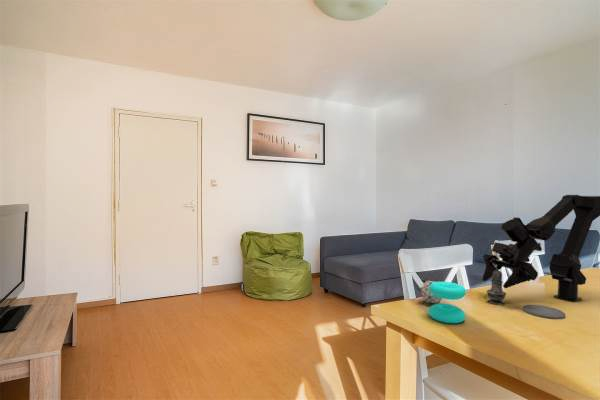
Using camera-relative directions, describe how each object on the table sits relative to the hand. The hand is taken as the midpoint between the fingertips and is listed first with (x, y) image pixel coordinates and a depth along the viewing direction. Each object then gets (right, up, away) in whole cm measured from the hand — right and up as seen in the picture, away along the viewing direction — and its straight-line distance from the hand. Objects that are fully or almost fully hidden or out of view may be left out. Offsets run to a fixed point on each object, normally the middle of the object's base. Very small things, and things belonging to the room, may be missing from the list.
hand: (493, 283), depth 117 cm
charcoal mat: (+11, -7, -9) cm, 16 cm away
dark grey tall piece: (+1, -7, 0) cm, 7 cm away
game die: (-22, -6, -2) cm, 23 cm away
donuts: (-23, -7, -16) cm, 29 cm away
